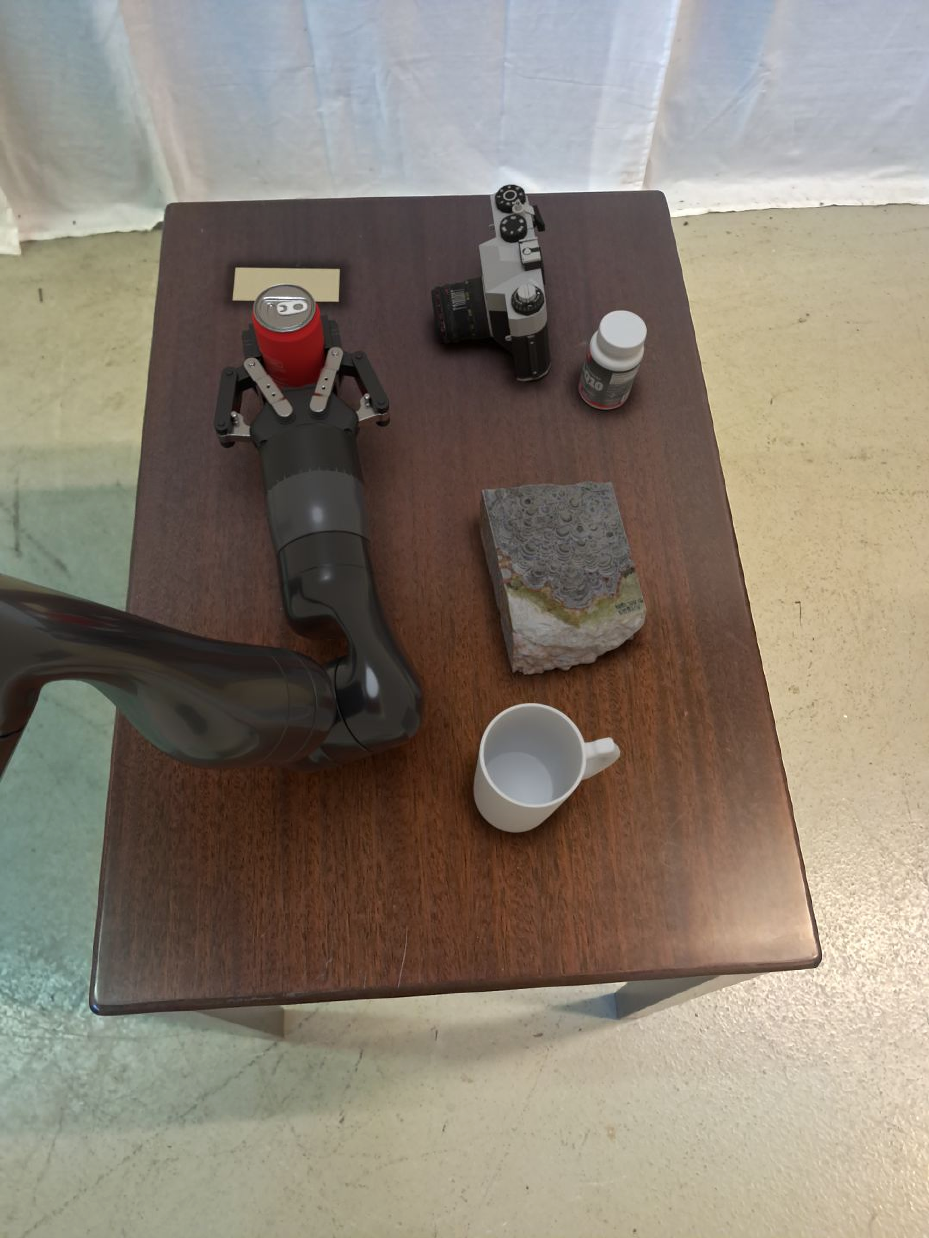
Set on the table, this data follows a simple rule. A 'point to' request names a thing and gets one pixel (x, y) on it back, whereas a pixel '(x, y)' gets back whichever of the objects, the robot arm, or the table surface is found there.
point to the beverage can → (289, 335)
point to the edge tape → (287, 282)
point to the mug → (533, 765)
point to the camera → (503, 289)
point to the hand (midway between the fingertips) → (289, 326)
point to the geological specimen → (560, 573)
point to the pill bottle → (613, 360)
